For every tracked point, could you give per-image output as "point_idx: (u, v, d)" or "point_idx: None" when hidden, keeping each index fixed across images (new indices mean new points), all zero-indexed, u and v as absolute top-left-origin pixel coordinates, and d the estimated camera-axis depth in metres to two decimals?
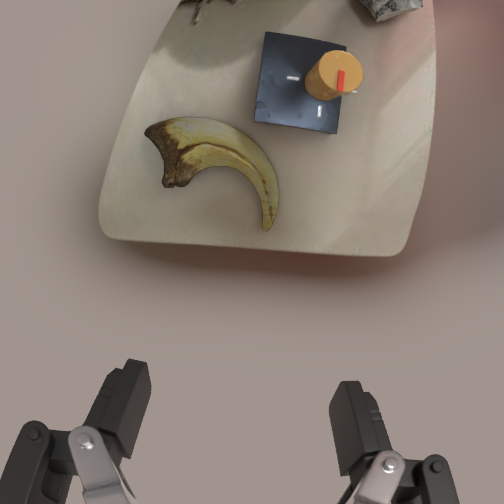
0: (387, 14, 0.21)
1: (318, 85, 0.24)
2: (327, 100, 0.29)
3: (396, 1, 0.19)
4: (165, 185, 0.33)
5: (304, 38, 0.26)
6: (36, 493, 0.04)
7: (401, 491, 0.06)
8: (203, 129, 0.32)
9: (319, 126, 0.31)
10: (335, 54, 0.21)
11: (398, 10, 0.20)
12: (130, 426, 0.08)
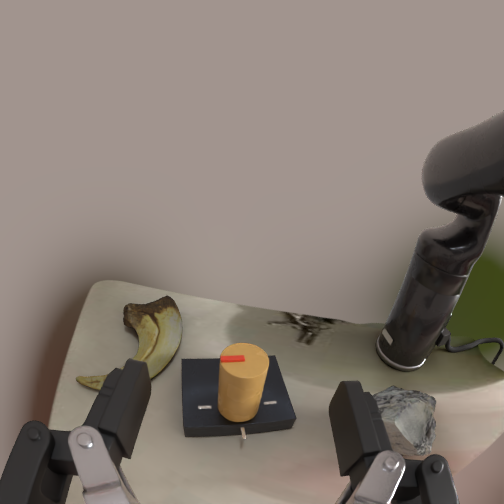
0: None
1: None
2: (219, 410, 0.26)
3: (385, 410, 0.22)
4: (126, 305, 0.40)
5: (282, 382, 0.31)
6: (36, 493, 0.04)
7: (401, 491, 0.06)
8: (170, 329, 0.38)
9: (187, 410, 0.26)
10: (260, 352, 0.25)
11: None
12: (131, 426, 0.08)
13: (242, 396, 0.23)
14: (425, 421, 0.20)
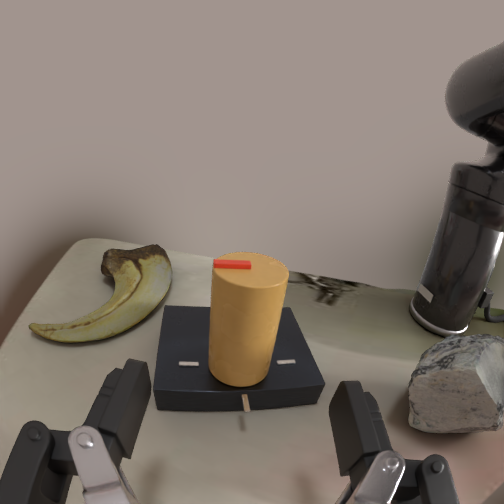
0: (428, 379, 0.15)
1: None
2: (210, 368, 0.18)
3: (457, 355, 0.14)
4: (106, 251, 0.32)
5: (302, 338, 0.23)
6: (36, 493, 0.04)
7: (401, 491, 0.06)
8: (156, 277, 0.30)
9: (162, 366, 0.18)
10: (274, 262, 0.17)
11: (449, 369, 0.13)
12: (131, 426, 0.08)
13: (246, 330, 0.16)
14: None
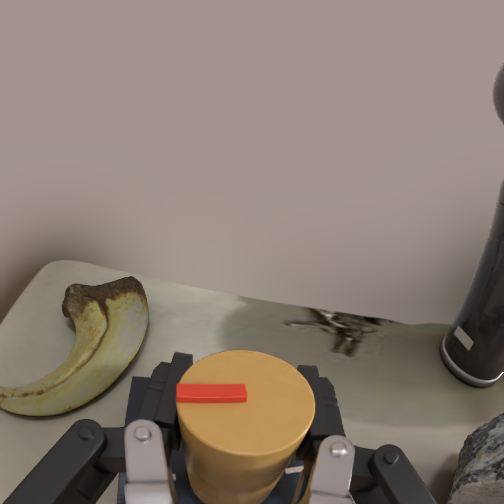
0: (479, 487, 0.06)
1: None
2: (192, 487, 0.10)
3: None
4: (69, 286, 0.24)
5: None
6: (70, 489, 0.04)
7: (353, 480, 0.07)
8: (126, 326, 0.22)
9: None
10: (289, 376, 0.09)
11: None
12: None
13: (238, 485, 0.07)
14: None
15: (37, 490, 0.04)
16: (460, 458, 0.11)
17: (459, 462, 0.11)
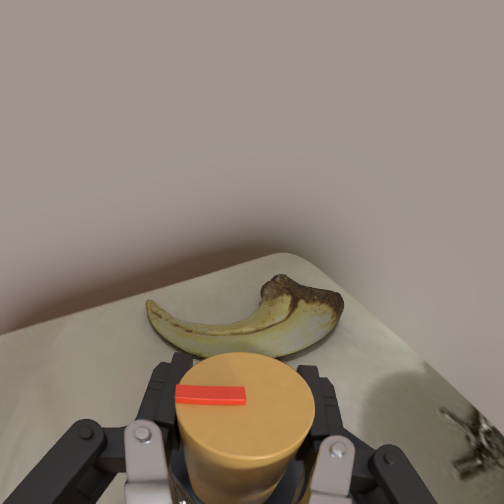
0: None
1: None
2: (192, 487, 0.10)
3: None
4: (279, 274, 0.32)
5: None
6: (70, 489, 0.04)
7: (353, 480, 0.07)
8: (300, 328, 0.25)
9: None
10: (291, 379, 0.09)
11: None
12: None
13: (235, 487, 0.07)
14: None
15: (37, 490, 0.04)
16: None
17: None
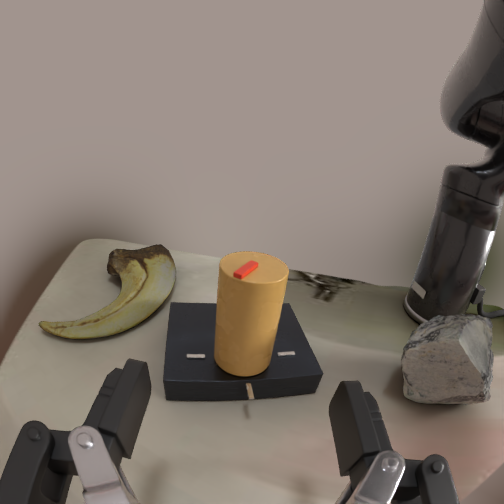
0: (418, 352, 0.18)
1: (217, 299, 0.18)
2: (237, 373, 0.19)
3: (442, 330, 0.17)
4: (112, 251, 0.34)
5: (301, 331, 0.25)
6: (36, 493, 0.04)
7: (401, 491, 0.06)
8: (161, 275, 0.32)
9: (171, 359, 0.20)
10: (255, 254, 0.20)
11: (436, 341, 0.17)
12: (131, 426, 0.08)
13: (276, 316, 0.18)
14: (487, 346, 0.16)
15: (9, 501, 0.03)
16: None
17: None
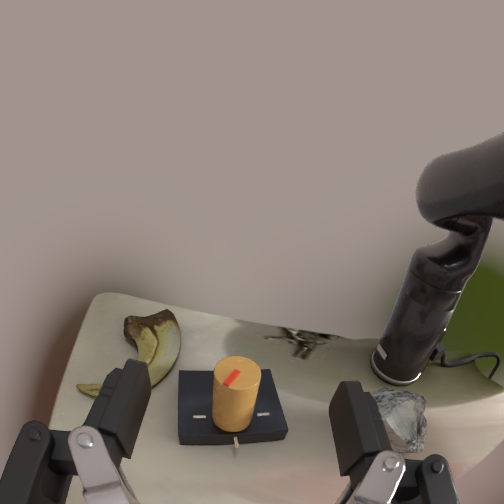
0: None
1: (213, 390, 0.25)
2: (228, 430, 0.26)
3: None
4: (127, 317, 0.40)
5: (276, 395, 0.32)
6: (36, 493, 0.04)
7: (401, 491, 0.06)
8: (169, 342, 0.39)
9: (182, 419, 0.27)
10: (239, 359, 0.26)
11: None
12: (131, 426, 0.08)
13: (253, 401, 0.25)
14: (415, 419, 0.22)
15: (9, 501, 0.03)
16: None
17: None
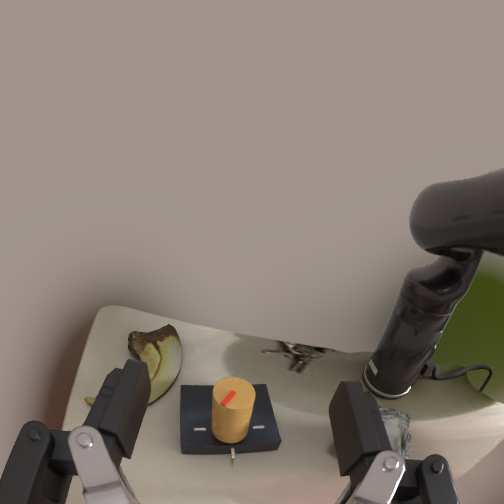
0: None
1: (212, 407, 0.27)
2: (225, 441, 0.28)
3: None
4: (131, 332, 0.42)
5: (271, 409, 0.33)
6: (36, 493, 0.04)
7: (401, 491, 0.06)
8: (171, 357, 0.40)
9: (184, 431, 0.28)
10: (236, 380, 0.28)
11: None
12: (131, 426, 0.08)
13: (248, 417, 0.27)
14: (399, 435, 0.24)
15: (9, 501, 0.03)
16: None
17: None
